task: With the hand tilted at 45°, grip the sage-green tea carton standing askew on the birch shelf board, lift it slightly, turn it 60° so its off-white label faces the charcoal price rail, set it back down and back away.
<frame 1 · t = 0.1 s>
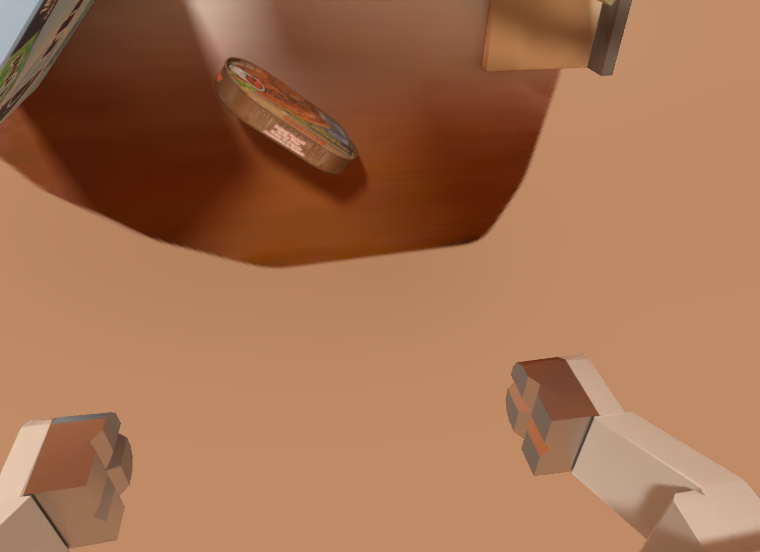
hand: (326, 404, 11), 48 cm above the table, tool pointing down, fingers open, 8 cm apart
tin: (287, 104, 55), on the table
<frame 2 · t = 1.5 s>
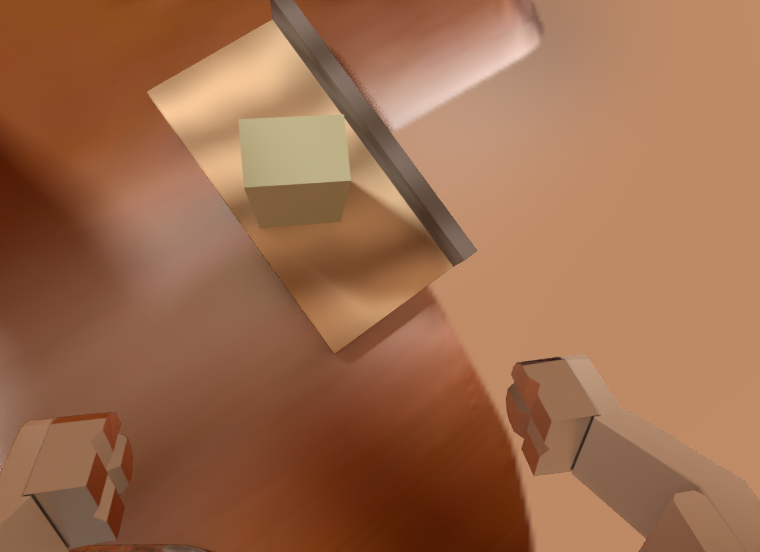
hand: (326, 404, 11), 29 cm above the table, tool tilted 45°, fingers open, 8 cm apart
shelf: (312, 180, 42), on the table
tea carton: (291, 123, 41), point 1 cm above the table, touching shelf
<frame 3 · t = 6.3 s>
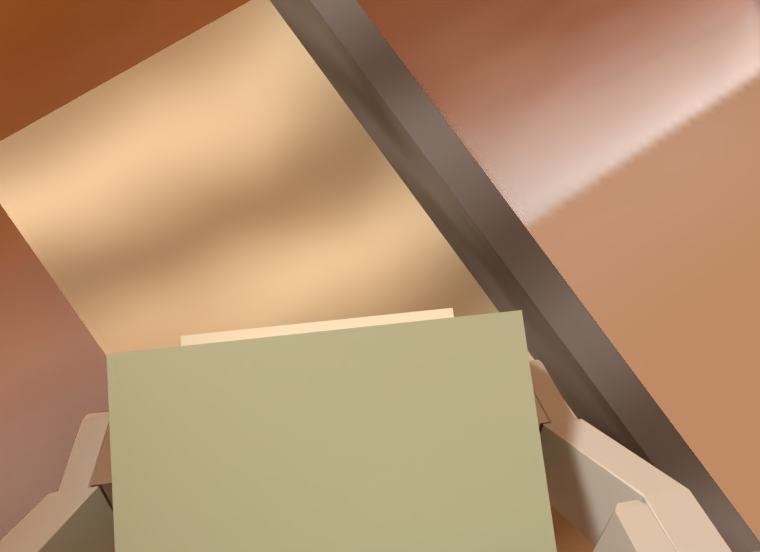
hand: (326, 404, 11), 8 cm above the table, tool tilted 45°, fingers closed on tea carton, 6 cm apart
shelf: (351, 344, 19), on the table
tea carton: (305, 225, 18), point 1 cm above the table, touching gripper, shelf
when the fingers open (9 cm above the table, at t = 10.3 s): tea carton stays where it is, resting on shelf.
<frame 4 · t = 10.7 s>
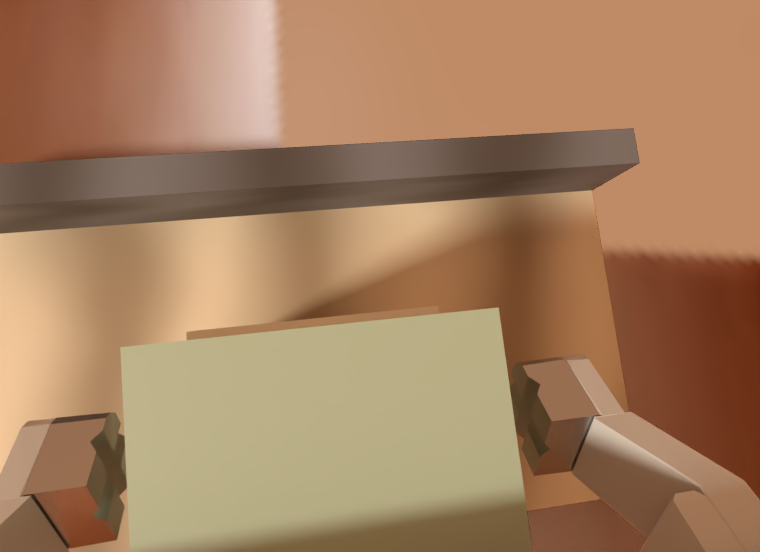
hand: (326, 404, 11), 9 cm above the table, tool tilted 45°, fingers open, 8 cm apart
shelf: (289, 347, 20), on the table
tea carton: (303, 227, 19), point 1 cm above the table, touching shelf
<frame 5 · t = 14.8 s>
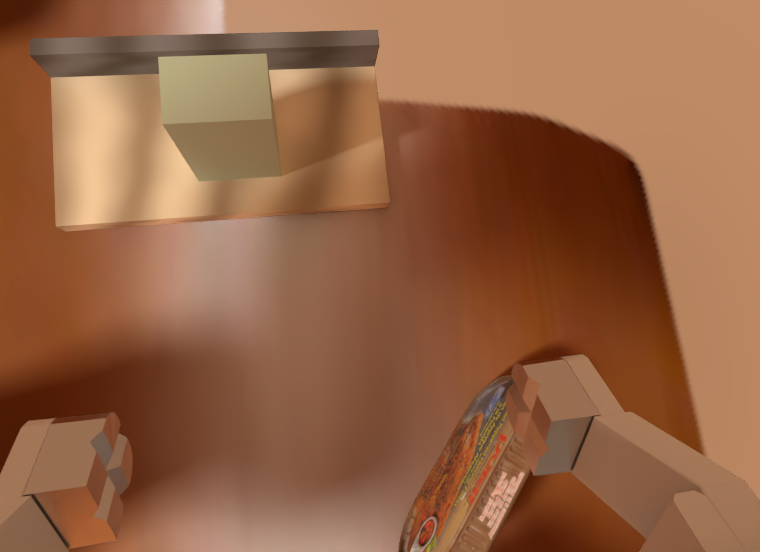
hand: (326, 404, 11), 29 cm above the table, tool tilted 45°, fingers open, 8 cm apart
shelf: (227, 138, 42), on the table
tea carton: (232, 78, 41), point 1 cm above the table, touching shelf
tin: (455, 466, 41), on the table
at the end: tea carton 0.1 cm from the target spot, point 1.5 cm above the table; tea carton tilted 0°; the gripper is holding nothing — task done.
